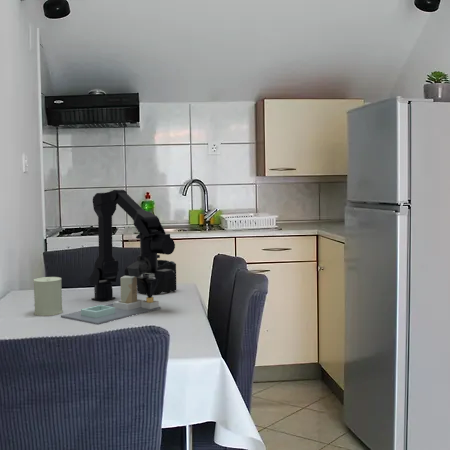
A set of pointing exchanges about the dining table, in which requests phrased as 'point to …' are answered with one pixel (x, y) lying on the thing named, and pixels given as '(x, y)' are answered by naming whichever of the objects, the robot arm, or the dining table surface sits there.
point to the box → (128, 289)
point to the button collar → (149, 304)
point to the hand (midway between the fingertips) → (149, 297)
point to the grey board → (107, 312)
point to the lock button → (149, 300)
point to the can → (48, 296)
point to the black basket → (163, 284)
